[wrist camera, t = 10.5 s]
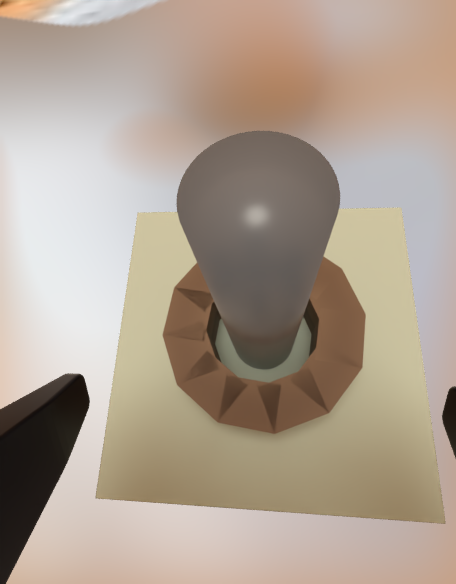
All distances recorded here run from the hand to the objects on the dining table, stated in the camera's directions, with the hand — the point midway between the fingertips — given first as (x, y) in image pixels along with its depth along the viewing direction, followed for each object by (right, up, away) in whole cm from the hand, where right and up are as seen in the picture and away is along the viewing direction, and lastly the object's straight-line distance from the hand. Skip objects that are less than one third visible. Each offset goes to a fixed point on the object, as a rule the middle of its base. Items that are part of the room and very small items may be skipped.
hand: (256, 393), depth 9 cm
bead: (+1, 0, +10) cm, 10 cm away
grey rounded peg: (+1, 0, +10) cm, 10 cm away
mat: (+1, 0, +11) cm, 11 cm away
